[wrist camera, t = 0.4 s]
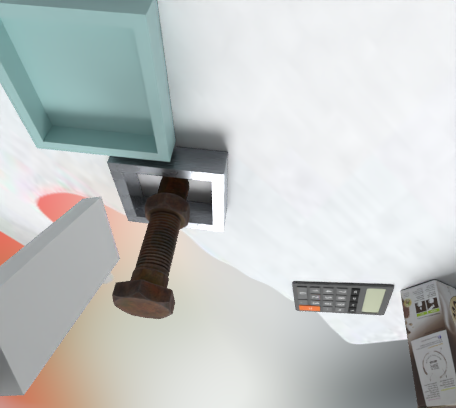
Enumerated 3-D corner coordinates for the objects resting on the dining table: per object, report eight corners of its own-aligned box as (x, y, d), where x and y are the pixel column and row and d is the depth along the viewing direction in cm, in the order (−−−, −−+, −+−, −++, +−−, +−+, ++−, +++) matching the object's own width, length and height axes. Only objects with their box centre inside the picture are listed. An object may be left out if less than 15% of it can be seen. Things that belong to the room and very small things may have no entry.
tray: (-25, -21, 26) (-47, -2, 25) (156, -7, 26) (145, 15, 24) (48, 127, 38) (37, 148, 36) (175, 140, 37) (169, 162, 35)
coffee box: (398, 291, 58) (415, 408, 48) (435, 278, 53) (462, 406, 44) (438, 307, 61) (461, 421, 51) (477, 296, 56) (511, 420, 47)
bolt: (144, 179, 43) (102, 306, 34) (161, 155, 39) (120, 291, 30) (189, 199, 45) (160, 324, 36) (210, 178, 41) (183, 311, 33)
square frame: (116, 140, 38) (107, 162, 36) (228, 151, 37) (224, 174, 36) (135, 200, 47) (128, 221, 45) (226, 211, 46) (223, 232, 44)
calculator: (292, 284, 59) (394, 288, 56) (292, 279, 60) (393, 282, 56) (295, 311, 68) (383, 316, 65) (296, 306, 69) (383, 311, 66)
